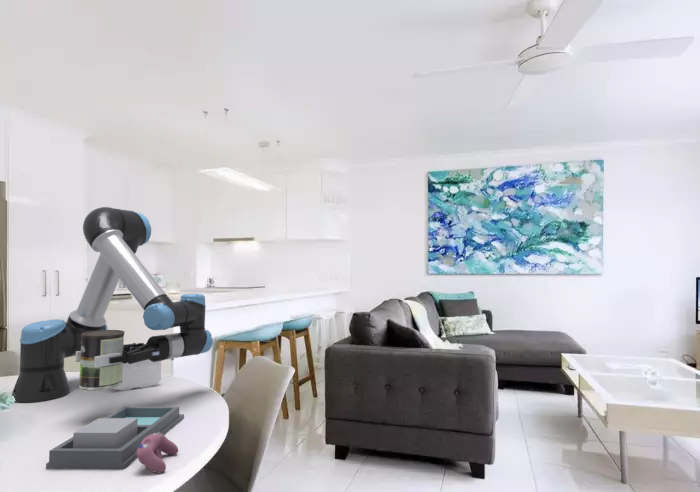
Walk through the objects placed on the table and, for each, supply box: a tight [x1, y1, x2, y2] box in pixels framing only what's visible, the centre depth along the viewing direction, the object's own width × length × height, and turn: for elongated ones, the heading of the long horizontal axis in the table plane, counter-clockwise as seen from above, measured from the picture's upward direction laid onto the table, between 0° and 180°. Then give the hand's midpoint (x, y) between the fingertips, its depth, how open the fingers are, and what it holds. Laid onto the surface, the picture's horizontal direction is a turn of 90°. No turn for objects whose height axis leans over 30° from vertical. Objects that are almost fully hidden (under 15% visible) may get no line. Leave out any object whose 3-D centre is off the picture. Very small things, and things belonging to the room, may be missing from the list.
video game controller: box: [137, 432, 179, 474], centre depth 91 cm, size 10×5×7 cm, turn 5°
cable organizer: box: [113, 359, 162, 392], centre depth 153 cm, size 15×11×12 cm
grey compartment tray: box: [45, 406, 185, 470], centre depth 104 cm, size 16×30×6 cm, turn 179°
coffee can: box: [78, 329, 125, 391], centre depth 119 cm, size 10×10×14 cm
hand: (85, 359), depth 116 cm, fingers closed on coffee can, 10 cm apart
